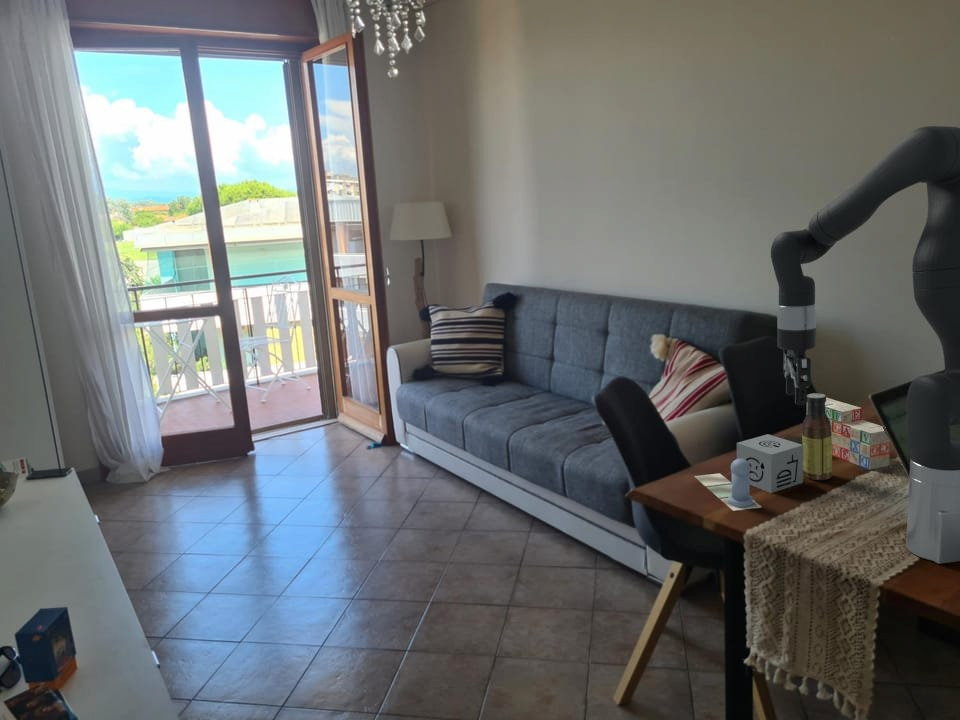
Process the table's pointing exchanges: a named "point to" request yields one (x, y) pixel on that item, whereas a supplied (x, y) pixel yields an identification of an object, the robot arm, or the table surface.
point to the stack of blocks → (856, 436)
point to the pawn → (740, 484)
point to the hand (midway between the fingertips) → (796, 399)
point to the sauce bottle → (817, 440)
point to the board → (721, 489)
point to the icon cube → (772, 462)
